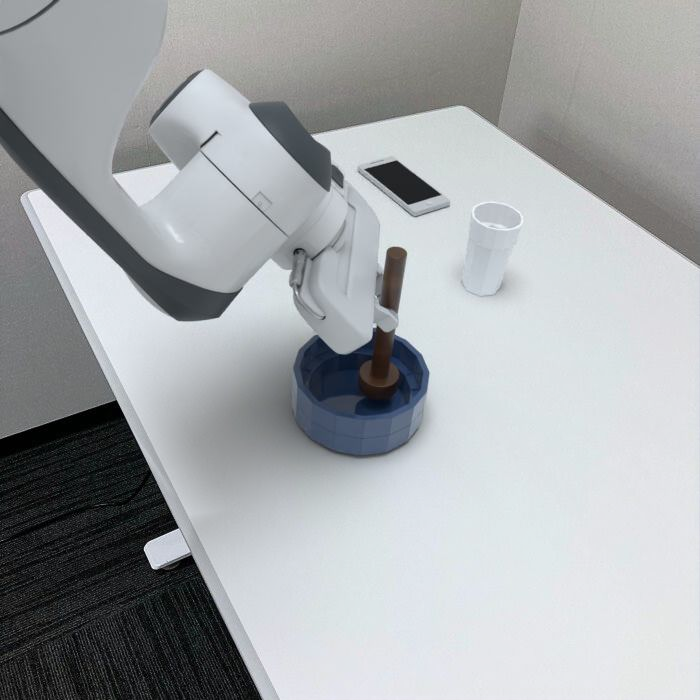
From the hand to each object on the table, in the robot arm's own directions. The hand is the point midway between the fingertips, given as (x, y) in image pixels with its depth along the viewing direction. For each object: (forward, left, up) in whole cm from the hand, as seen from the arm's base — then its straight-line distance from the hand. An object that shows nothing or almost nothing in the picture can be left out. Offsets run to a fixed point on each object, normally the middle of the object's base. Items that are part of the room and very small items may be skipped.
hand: (393, 314), depth 79 cm
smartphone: (+31, +36, -13) cm, 49 cm away
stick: (0, 0, -10) cm, 10 cm away
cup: (+25, +11, -13) cm, 30 cm away
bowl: (-3, +1, -13) cm, 13 cm away
